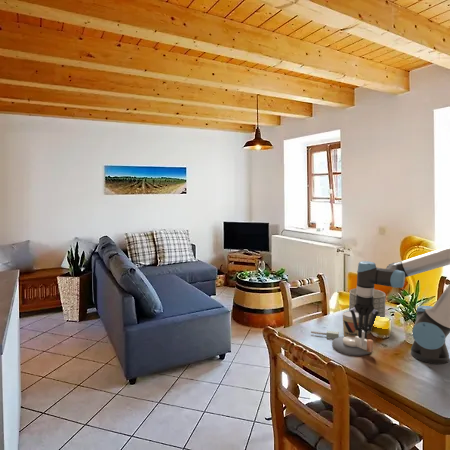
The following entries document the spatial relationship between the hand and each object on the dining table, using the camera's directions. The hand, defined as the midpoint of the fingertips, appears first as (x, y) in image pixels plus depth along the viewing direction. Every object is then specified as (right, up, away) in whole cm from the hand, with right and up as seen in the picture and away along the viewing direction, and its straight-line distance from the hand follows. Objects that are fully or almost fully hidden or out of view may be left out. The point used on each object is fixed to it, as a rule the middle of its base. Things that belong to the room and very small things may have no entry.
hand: (361, 344), depth 165 cm
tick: (+2, -3, 0) cm, 4 cm away
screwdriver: (-10, -3, +21) cm, 24 cm away
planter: (+17, -1, +38) cm, 42 cm away
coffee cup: (+3, -3, +20) cm, 21 cm away
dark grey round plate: (-2, -4, +8) cm, 9 cm away
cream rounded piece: (0, -2, +5) cm, 5 cm away
